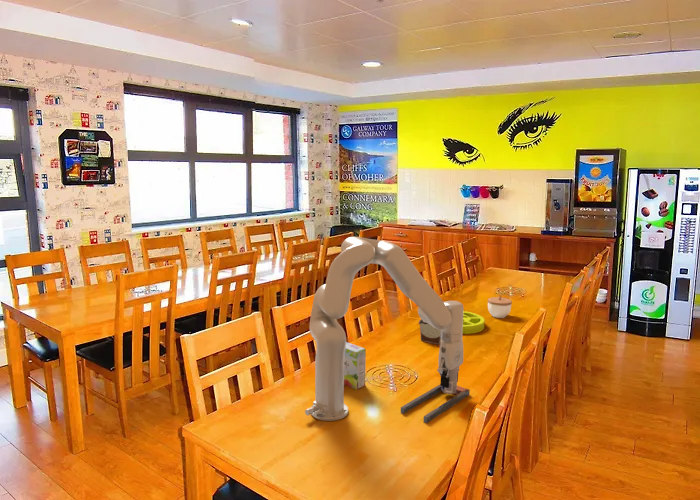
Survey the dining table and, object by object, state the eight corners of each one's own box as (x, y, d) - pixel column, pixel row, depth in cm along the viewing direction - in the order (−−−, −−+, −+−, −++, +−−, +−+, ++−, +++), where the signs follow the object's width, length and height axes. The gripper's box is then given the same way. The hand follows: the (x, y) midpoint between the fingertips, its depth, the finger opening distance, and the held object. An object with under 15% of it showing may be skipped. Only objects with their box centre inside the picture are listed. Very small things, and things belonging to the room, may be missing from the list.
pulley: (418, 324, 269) (418, 315, 268) (450, 314, 287) (451, 305, 286) (463, 338, 248) (463, 328, 248) (494, 326, 267) (495, 317, 266)
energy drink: (446, 386, 190) (447, 355, 188) (459, 390, 186) (460, 359, 184) (438, 391, 186) (440, 359, 184) (452, 395, 182) (453, 363, 180)
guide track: (426, 423, 167) (426, 417, 166) (400, 412, 173) (400, 407, 173) (469, 394, 187) (469, 389, 187) (444, 386, 194) (444, 381, 194)
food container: (447, 341, 243) (448, 321, 241) (442, 345, 238) (443, 324, 236) (423, 336, 249) (424, 316, 248) (418, 340, 244) (418, 319, 243)
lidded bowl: (488, 318, 279) (489, 299, 277) (485, 312, 291) (487, 293, 289) (512, 320, 277) (513, 300, 275) (509, 313, 289) (510, 294, 287)
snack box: (316, 374, 204) (316, 337, 202) (326, 370, 208) (327, 334, 206) (356, 390, 190) (356, 351, 187) (366, 385, 194) (367, 347, 192)
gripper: (447, 344, 174) (445, 395, 177) (472, 332, 186) (470, 379, 189) (429, 339, 179) (427, 388, 182) (454, 328, 191) (452, 374, 194)
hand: (449, 383), depth 186 cm, fingers closed on energy drink, 5 cm apart
